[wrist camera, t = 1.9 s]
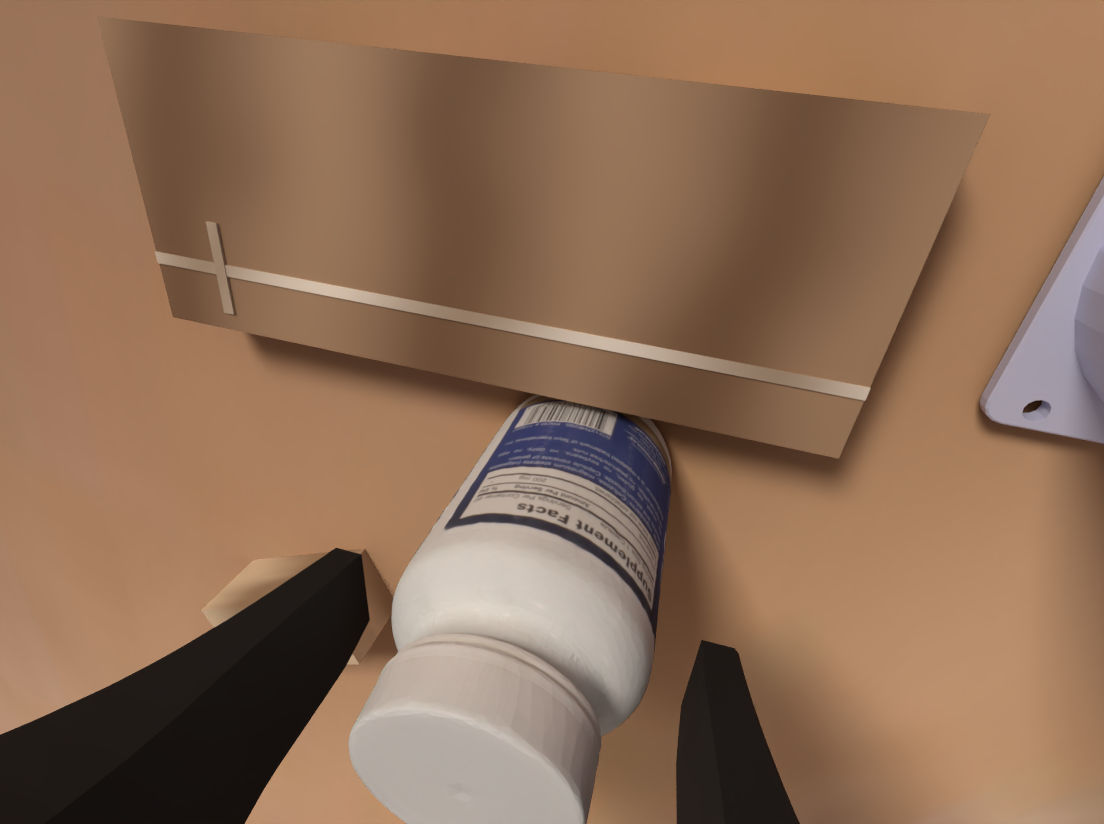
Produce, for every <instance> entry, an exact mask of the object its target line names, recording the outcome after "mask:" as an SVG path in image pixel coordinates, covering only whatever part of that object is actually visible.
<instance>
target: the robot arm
mask: <svg viewBox="0 0 1104 824" xmlns="http://www.w3.org/2000/svg"><path fill="white" fill-rule="evenodd" d="M1036 400H1042V403H1041V406H1040V407H1039V408H1038V409H1037V410H1035V411H1032V412H1030V413H1022V412H1023V408H1024V407H1025V406H1026V405H1027V404H1028V403H1031V402H1033V401H1036ZM980 406H981V409H982V411H983V412H984V413H985V414H986V415H987V416H988V417H989V418H990V419H991V420H992V421H994V422H997V423H999V424H1004V425H1009V426H1014V427H1019V428H1025V429H1030V430H1035V431H1040V432H1045V433H1050V434H1055V435H1061V436H1066V437H1071V438H1076V439H1081V440H1086V441H1092V442H1097V443H1102V444H1104V177H1103V179H1102V180H1101V182H1100V184H1099V186H1098V188H1097V189H1096V191H1095V193H1094V195H1093V197H1092V198H1091V200H1090V202H1089V204H1088V205H1087V207H1086V209H1085V211H1084V213H1083V214H1082V216H1081V218H1080V220H1079V222H1078V223H1077V225H1076V227H1075V229H1074V231H1073V232H1072V234H1071V236H1070V238H1069V240H1068V241H1067V243H1066V245H1065V247H1064V249H1063V250H1062V252H1061V254H1060V256H1059V257H1058V259H1057V261H1056V263H1055V265H1054V266H1053V268H1052V270H1051V272H1050V274H1049V275H1048V277H1047V279H1046V281H1045V283H1044V284H1043V286H1042V288H1041V290H1040V292H1039V293H1038V295H1037V297H1036V299H1035V300H1034V302H1033V304H1032V306H1031V308H1030V309H1029V311H1028V313H1027V315H1026V317H1025V318H1024V320H1023V322H1022V324H1021V326H1020V327H1019V329H1018V331H1017V333H1016V335H1015V336H1014V338H1013V340H1012V342H1011V344H1010V345H1009V347H1008V349H1007V351H1006V352H1005V354H1004V356H1003V358H1002V360H1001V361H1000V363H999V365H998V367H997V369H996V370H995V372H994V374H993V376H992V378H991V379H990V381H989V383H988V385H987V387H986V388H985V390H984V392H983V394H982V396H981V399H980ZM369 621H370V617H369V609H368V601H367V593H366V585H365V577H364V569H363V562H362V554H358V553H354V552H350V551H346V550H343V549H339V548H335V549H334V550H332V551H331V552H329V553H328V554H326V555H325V556H323V557H322V558H320V559H319V560H317V561H316V562H314V563H313V564H311V565H310V566H308V567H307V568H305V569H304V570H302V571H301V572H299V573H298V574H296V575H295V576H293V577H292V578H290V579H289V580H287V581H286V582H284V583H283V584H281V585H280V586H278V587H277V588H275V589H274V590H272V591H271V592H269V593H268V594H266V595H265V596H263V597H262V598H260V599H259V600H257V601H256V602H254V603H252V604H251V605H249V606H248V607H246V608H245V609H243V610H242V611H240V612H239V613H237V614H236V615H234V616H232V617H231V618H229V619H228V620H226V621H224V622H223V623H221V624H219V625H218V626H216V627H214V628H213V629H211V630H209V631H208V632H206V633H204V634H203V635H201V636H200V637H198V638H196V639H195V640H193V641H191V642H190V643H188V644H186V645H185V646H183V647H181V648H179V649H178V650H176V651H174V652H172V653H171V654H169V655H167V656H165V657H163V658H162V659H160V660H158V661H156V662H154V663H152V664H151V665H149V666H147V667H145V668H143V669H141V670H139V671H137V672H135V673H133V674H131V675H129V676H128V677H126V678H124V679H122V680H120V681H118V682H116V683H114V684H112V685H110V686H108V687H106V688H104V689H102V690H99V691H97V692H95V693H93V694H91V695H89V696H87V697H84V698H82V699H80V700H78V701H76V702H74V703H71V704H69V705H67V706H65V707H63V708H61V709H58V710H56V711H54V712H52V713H50V714H48V715H45V716H43V717H41V718H39V719H37V720H34V721H32V722H30V723H27V724H25V725H23V726H20V727H18V728H15V729H13V730H11V731H8V732H6V733H3V734H1V735H0V824H245V822H246V820H247V818H248V816H249V815H250V813H251V811H252V809H253V808H254V806H255V804H256V802H257V800H258V799H259V797H260V795H261V793H262V792H263V790H264V788H265V787H266V785H267V783H268V782H269V780H270V779H271V777H272V776H273V774H274V772H275V771H276V769H277V768H278V766H279V765H280V763H281V762H282V760H283V759H284V757H285V756H286V754H287V753H288V751H289V750H290V748H291V747H292V745H293V744H294V742H295V741H296V739H297V738H298V737H299V735H300V734H301V732H302V731H303V729H304V728H305V726H306V725H307V723H308V722H309V720H310V719H311V717H312V716H313V714H314V713H315V711H316V710H317V709H318V707H319V706H320V704H321V703H322V701H323V700H324V698H325V697H326V695H327V694H328V692H329V691H330V689H331V688H332V686H333V685H334V683H335V682H336V680H337V679H338V677H339V676H340V674H341V673H342V671H343V670H344V668H345V667H346V665H347V663H348V661H349V659H350V657H351V656H352V654H353V652H354V650H355V648H356V646H357V644H358V642H359V640H360V638H361V636H362V634H363V632H364V630H365V628H366V627H367V625H368V623H369ZM676 781H677V824H800V823H799V821H798V819H797V817H796V814H795V812H794V810H793V807H792V805H791V803H790V800H789V798H788V795H787V793H786V791H785V788H784V786H783V783H782V781H781V778H780V776H779V773H778V771H777V768H776V765H775V763H774V760H773V758H772V755H771V753H770V750H769V747H768V745H767V742H766V739H765V737H764V734H763V731H762V728H761V726H760V723H759V720H758V717H757V714H756V711H755V708H754V705H753V702H752V699H751V696H750V692H749V689H748V686H747V683H746V679H745V676H744V672H743V669H742V665H741V661H740V657H739V654H738V652H737V651H736V650H735V648H731V647H727V646H723V645H719V644H715V643H711V642H707V641H703V640H702V641H701V644H700V647H699V650H698V654H697V657H696V660H695V663H694V666H693V670H692V673H691V676H690V679H689V682H688V686H687V689H686V692H685V695H684V698H683V701H682V705H681V714H680V725H679V736H678V748H677V761H676Z"/></svg>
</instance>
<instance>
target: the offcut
mask: <svg viewBox="0 0 1104 824" xmlns="http://www.w3.org/2000/svg"><path fill="white" fill-rule="evenodd" d="M348 551H350V552H354V553H358V554H362V562H363V569H364V577H365V585H366V593H367V601H368V609H369V617H370V621H369V623H368V625H367V627H366V628H365V630H364V632H363V634H362V636H361V638H360V640H359V642H358V644H357V646H356V648H355V650H354V652H353V654H352V656H351V657H350V659H349V661H348V663H347V665H354V664H360V663H361V661H362V660H363V658H364V657H365V655H366V654H367V652H368V650H369V649H370V647H371V646H372V644H373V643H374V641H375V640H376V638H377V637H378V635H379V633H380V632H381V630H382V629H383V627H384V626H385V624H386V623H387V621H388V620H389V618H390V616H391V615H392V603H393V597H392V595H391V593H390V592H389V590H388V588H387V586H386V585H385V583H384V581H383V579H382V578H381V576H380V574H379V572H378V571H377V569H376V567H375V565H374V563H373V562H372V560H371V558H370V556H369V555H368V553H367V551H366V549H358V550H348ZM328 553H329V552H328ZM328 553H318V554H308V555H299V556H289V557H279V558H269V559H259V560H253V561H252V562H251V563H250V564H249V565H248V566H247V567H246V568H244V569H243V570H242V571H241V572H240V573H239V574H238V575H237V576H236V577H235V578H234V579H233V580H232V581H231V582H230V583H229V584H228V585H227V586H226V587H225V588H224V589H223V590H222V591H221V592H220V593H219V594H218V595H217V596H215V597H214V598H213V599H212V600H211V601H210V602H209V603H208V604H207V605H206V606H205V607H204V608H203V609H202V610H201V611H202V612H203V613H204V615H205V616H206V617H207V619H208V620H209V621H210V623H211V624H212V625H213V627H216V626H218V625H219V624H221V623H223V622H224V621H226V620H228V619H229V618H231V617H232V616H234V615H236V614H237V613H239V612H240V611H242V610H243V609H245V608H246V607H248V606H249V605H251V604H252V603H254V602H256V601H257V600H259V599H260V598H262V597H263V596H265V595H266V594H268V593H269V592H271V591H272V590H274V589H275V588H277V587H278V586H280V585H281V584H283V583H284V582H286V581H287V580H289V579H290V578H292V577H293V576H295V575H296V574H298V573H299V572H301V571H302V570H304V569H305V568H307V567H308V566H310V565H311V564H313V563H314V562H316V561H317V560H319V559H320V558H322V557H323V556H325V555H326V554H328Z"/></svg>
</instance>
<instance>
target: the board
mask: <svg viewBox="0 0 1104 824" xmlns="http://www.w3.org/2000/svg"><path fill="white" fill-rule="evenodd" d="M97 19H98V23H99V27H100V31H101V35H102V39H103V42H104V46H105V50H106V54H107V58H108V62H109V66H110V70H111V74H112V78H113V82H114V86H115V90H116V94H117V98H118V102H119V106H120V110H121V113H122V117H123V121H124V125H125V129H126V133H127V137H128V141H129V145H130V149H131V153H132V157H133V161H134V165H135V169H136V173H137V177H138V181H139V184H140V188H141V192H142V196H143V200H144V204H145V208H146V212H147V216H148V220H149V224H150V228H151V232H152V236H153V240H154V244H155V248H156V252H155V254H156V258H157V262H158V263H160V267H161V271H162V275H163V279H164V283H165V287H166V291H167V295H168V299H169V303H170V307H171V311H172V315H173V317H176V318H180V319H185V320H190V321H194V322H199V323H204V324H209V325H213V326H218V327H223V328H227V329H232V330H237V331H241V332H246V333H251V334H256V335H260V336H265V337H270V338H274V339H279V340H284V341H288V342H293V343H298V344H302V345H307V346H312V347H317V348H321V349H326V350H331V351H335V352H340V353H345V354H349V355H354V356H359V357H364V358H368V359H373V360H378V361H382V362H387V363H392V364H396V365H401V366H406V367H411V368H415V369H420V370H425V371H429V372H434V373H439V374H443V375H448V376H453V377H457V378H462V379H467V380H472V381H476V382H481V383H486V384H490V385H495V386H500V387H504V388H509V389H514V390H519V391H523V392H528V393H533V394H537V395H542V396H547V397H551V398H556V399H561V400H565V401H570V402H575V403H580V404H584V405H589V406H594V407H598V408H603V409H608V410H612V411H617V412H622V413H627V414H631V415H636V416H641V417H645V418H650V419H655V420H659V421H664V422H669V423H674V424H678V425H683V426H688V427H692V428H697V429H702V430H706V431H711V432H716V433H720V434H725V435H730V436H735V437H739V438H744V439H749V440H753V441H758V442H763V443H767V444H772V445H777V446H782V447H786V448H791V449H796V450H800V451H805V452H810V453H814V454H819V455H824V456H828V457H833V458H838V459H839V457H840V455H841V453H842V450H843V448H844V446H845V444H846V441H847V439H848V437H849V434H850V432H851V430H852V428H853V425H854V423H855V421H856V419H857V416H858V414H859V412H860V409H861V407H862V405H863V403H864V401H865V400H866V398H867V396H868V394H869V391H870V389H871V388H870V387H871V384H872V382H873V380H874V378H875V375H876V373H877V371H878V369H879V366H880V364H881V362H882V359H883V357H884V355H885V353H886V350H887V348H888V346H889V343H890V341H891V339H892V337H893V334H894V332H895V330H896V328H897V325H898V323H899V321H900V318H901V316H902V314H903V312H904V309H905V307H906V305H907V303H908V300H909V298H910V296H911V293H912V291H913V289H914V287H915V284H916V282H917V280H918V278H919V275H920V273H921V271H922V268H923V266H924V264H925V262H926V259H927V257H928V255H929V253H930V250H931V248H932V246H933V243H934V241H935V239H936V237H937V234H938V232H939V230H940V227H941V225H942V223H943V221H944V218H945V216H946V214H947V212H948V209H949V207H950V205H951V202H952V200H953V198H954V196H955V193H956V191H957V189H958V187H959V184H960V182H961V180H962V177H963V175H964V173H965V171H966V168H967V166H968V164H969V162H970V159H971V157H972V155H973V152H974V150H975V148H976V146H977V143H978V141H979V139H980V137H981V134H982V132H983V130H984V127H985V125H986V123H987V121H988V118H989V116H990V114H982V113H973V112H964V111H955V110H946V109H937V108H928V107H919V106H909V105H900V104H891V103H882V102H873V101H864V100H855V99H845V98H836V97H827V96H818V95H809V94H800V93H791V92H781V91H772V90H763V89H754V88H745V87H736V86H727V85H718V84H708V83H699V82H690V81H681V80H672V79H663V78H654V77H644V76H635V75H626V74H617V73H608V72H599V71H590V70H580V69H571V68H562V67H553V66H544V65H535V64H526V63H517V62H507V61H498V60H489V59H480V58H471V57H462V56H453V55H443V54H434V53H425V52H416V51H407V50H398V49H389V48H379V47H370V46H361V45H352V44H343V43H334V42H325V41H316V40H306V39H297V38H288V37H279V36H270V35H261V34H252V33H242V32H233V31H224V30H215V29H206V28H197V27H188V26H179V25H169V24H160V23H151V22H142V21H133V20H124V19H115V18H105V17H97Z"/></svg>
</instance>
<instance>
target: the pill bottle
mask: <svg viewBox="0 0 1104 824" xmlns="http://www.w3.org/2000/svg"><path fill="white" fill-rule="evenodd" d="M671 474H672V468H671V459H670V455H669V451H668V449H667V446H666V443H665V441H664V439H663V437H662V435H661V433H660V431H659V430H658V428H657V427H656V426H655V424H654V423H653V422H652V421H651V420H650V419H649V418H645V417H641V416H636V415H631V414H627V413H622V412H617V411H612V410H608V409H603V408H598V407H594V406H589V405H584V404H580V403H575V402H570V401H565V400H561V399H556V398H551V397H547V396H542V395H537V394H535V395H533V396H531V397H530V398H528V399H527V400H525V401H524V402H523V403H522V404H520V405H519V406H518V407H517V408H516V409H515V410H514V411H513V412H512V413H511V414H510V416H509V417H508V418H507V420H506V421H505V422H504V424H503V425H502V426H501V428H500V429H499V431H498V432H497V433H496V435H495V436H494V438H493V439H492V441H491V443H490V444H489V445H488V447H487V448H486V450H485V451H484V452H483V454H482V455H481V457H480V458H479V460H478V462H477V463H476V465H475V466H474V468H473V469H472V471H471V472H470V474H469V475H468V476H467V478H466V479H465V481H464V482H463V484H462V486H461V487H460V489H459V490H458V491H457V493H456V494H455V496H454V497H453V499H452V500H451V502H450V504H449V505H448V506H447V507H446V508H445V510H444V511H443V513H442V514H441V516H440V517H439V519H438V521H437V522H436V524H435V525H434V526H433V527H432V529H431V531H430V533H429V535H428V536H427V537H426V539H425V540H424V541H423V543H422V544H421V545H420V547H419V549H418V550H417V552H416V553H415V555H414V556H413V558H412V560H411V561H410V563H409V565H408V566H407V568H406V569H405V571H404V573H403V575H402V577H401V579H400V581H399V583H398V585H397V588H396V591H395V594H394V598H393V603H392V617H391V619H392V630H393V636H394V640H395V644H396V647H397V650H398V653H397V654H396V656H394V657H393V658H392V659H391V660H390V661H389V662H388V663H387V664H386V666H385V667H384V668H383V670H382V672H381V674H380V676H379V679H378V681H377V684H376V685H375V687H374V689H373V691H372V693H371V694H370V696H369V698H368V700H367V702H366V703H365V705H364V707H363V709H362V711H361V713H360V714H359V716H358V718H357V720H356V722H355V724H354V726H353V728H352V730H351V733H350V736H349V753H350V758H351V762H352V765H353V767H354V769H355V771H356V772H357V774H358V776H359V777H360V779H361V780H362V781H363V783H364V784H365V786H366V787H367V788H368V789H369V791H370V792H371V793H372V794H373V795H374V796H375V797H376V798H377V799H378V800H379V801H380V802H381V803H382V804H383V805H384V806H385V807H386V808H387V809H389V810H390V811H391V812H392V813H394V814H395V815H396V816H397V817H399V818H400V819H401V820H402V821H404V822H405V823H407V824H586V823H587V819H588V814H589V808H590V803H591V798H592V793H593V787H594V782H595V775H596V770H597V766H598V760H599V752H600V748H601V736H603V735H605V734H607V733H609V732H610V731H612V730H614V729H615V728H617V727H618V726H619V725H621V724H622V723H623V722H624V721H625V720H626V719H627V718H628V717H629V716H630V715H631V714H632V713H633V712H634V711H635V709H636V708H637V706H638V705H639V703H640V701H641V700H642V698H643V695H644V693H645V691H646V688H647V686H648V682H649V678H650V674H651V668H652V663H653V659H654V650H655V638H656V627H657V615H658V604H659V596H660V584H661V578H662V570H663V560H664V553H665V542H666V532H667V522H668V512H669V503H670V494H671Z"/></svg>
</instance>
